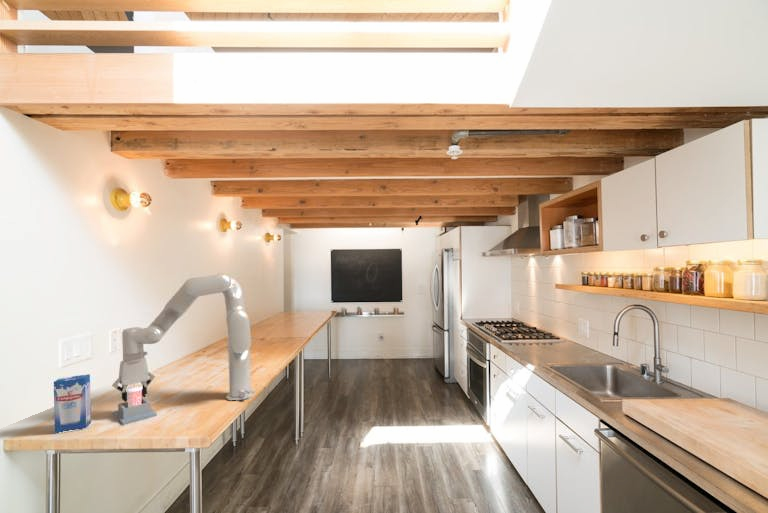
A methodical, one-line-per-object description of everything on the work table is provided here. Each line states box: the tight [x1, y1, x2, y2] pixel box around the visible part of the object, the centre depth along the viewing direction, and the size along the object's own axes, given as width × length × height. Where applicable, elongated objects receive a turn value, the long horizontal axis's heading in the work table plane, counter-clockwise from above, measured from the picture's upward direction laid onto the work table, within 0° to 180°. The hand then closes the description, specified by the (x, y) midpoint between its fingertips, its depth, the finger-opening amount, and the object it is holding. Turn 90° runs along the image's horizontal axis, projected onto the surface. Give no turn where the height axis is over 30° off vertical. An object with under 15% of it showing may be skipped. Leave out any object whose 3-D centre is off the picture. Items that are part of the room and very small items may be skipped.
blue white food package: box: [53, 374, 92, 434], centre depth 150 cm, size 10×6×20 cm, turn 114°
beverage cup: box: [126, 383, 143, 407], centre depth 162 cm, size 6×6×14 cm
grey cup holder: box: [112, 397, 157, 426], centre depth 162 cm, size 18×12×5 cm, turn 46°
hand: (134, 398), depth 162 cm, fingers closed on beverage cup, 6 cm apart
